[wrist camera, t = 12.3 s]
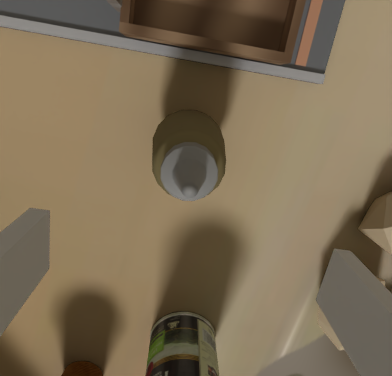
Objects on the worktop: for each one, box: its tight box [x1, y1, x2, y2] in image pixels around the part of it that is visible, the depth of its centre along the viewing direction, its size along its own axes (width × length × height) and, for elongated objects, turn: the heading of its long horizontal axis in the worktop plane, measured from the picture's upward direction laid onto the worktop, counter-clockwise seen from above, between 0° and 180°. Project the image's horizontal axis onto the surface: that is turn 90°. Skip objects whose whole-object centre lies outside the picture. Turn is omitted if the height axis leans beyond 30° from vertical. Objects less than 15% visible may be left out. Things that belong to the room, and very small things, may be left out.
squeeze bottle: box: [152, 110, 226, 201], centre depth 29 cm, size 8×8×18 cm
